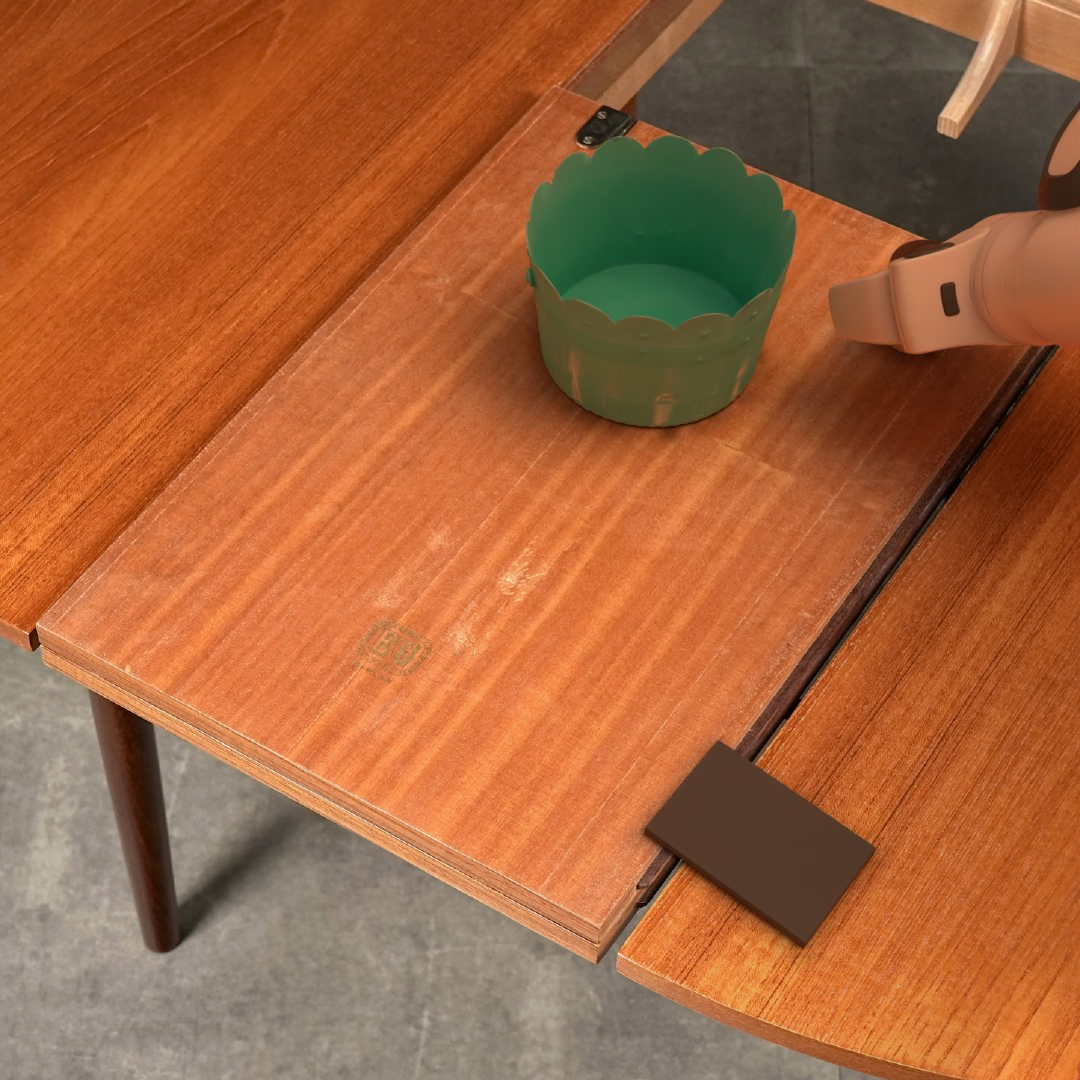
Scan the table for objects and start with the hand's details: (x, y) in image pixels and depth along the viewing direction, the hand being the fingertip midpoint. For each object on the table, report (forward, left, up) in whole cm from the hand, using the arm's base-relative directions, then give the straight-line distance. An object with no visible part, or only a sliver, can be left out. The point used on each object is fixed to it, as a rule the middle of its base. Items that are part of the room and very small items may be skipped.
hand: (920, 279), depth 127 cm
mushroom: (-1, 0, -5) cm, 5 cm away
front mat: (-16, +43, -5) cm, 46 cm away
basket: (+14, +14, -5) cm, 21 cm away
